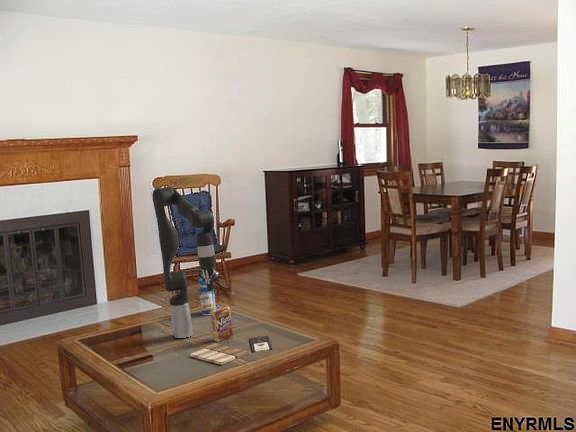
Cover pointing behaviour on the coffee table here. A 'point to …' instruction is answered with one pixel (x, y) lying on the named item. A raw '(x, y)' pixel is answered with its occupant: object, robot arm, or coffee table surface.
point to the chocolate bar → (260, 344)
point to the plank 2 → (220, 358)
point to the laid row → (227, 350)
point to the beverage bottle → (206, 298)
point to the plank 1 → (203, 354)
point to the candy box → (221, 323)
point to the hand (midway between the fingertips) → (210, 290)
